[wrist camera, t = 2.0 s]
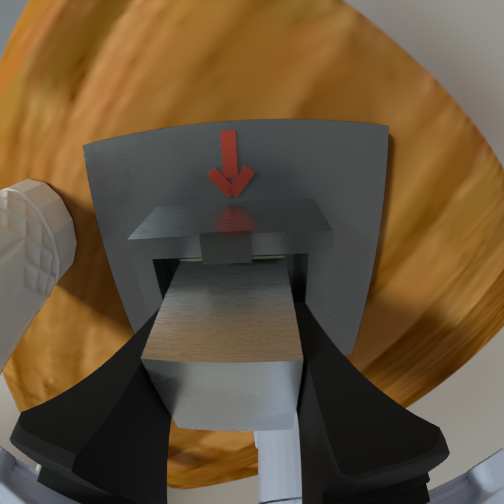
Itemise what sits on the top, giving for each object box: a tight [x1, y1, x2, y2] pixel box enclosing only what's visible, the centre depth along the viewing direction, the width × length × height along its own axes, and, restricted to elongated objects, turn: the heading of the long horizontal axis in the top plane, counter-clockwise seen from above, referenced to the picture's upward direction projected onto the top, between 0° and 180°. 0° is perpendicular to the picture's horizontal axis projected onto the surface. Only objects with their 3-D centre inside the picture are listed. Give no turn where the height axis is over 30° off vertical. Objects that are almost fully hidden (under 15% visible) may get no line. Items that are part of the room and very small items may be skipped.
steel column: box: [141, 254, 303, 431], centre depth 10 cm, size 4×4×7 cm
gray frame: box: [83, 119, 389, 355], centre depth 12 cm, size 14×14×5 cm
